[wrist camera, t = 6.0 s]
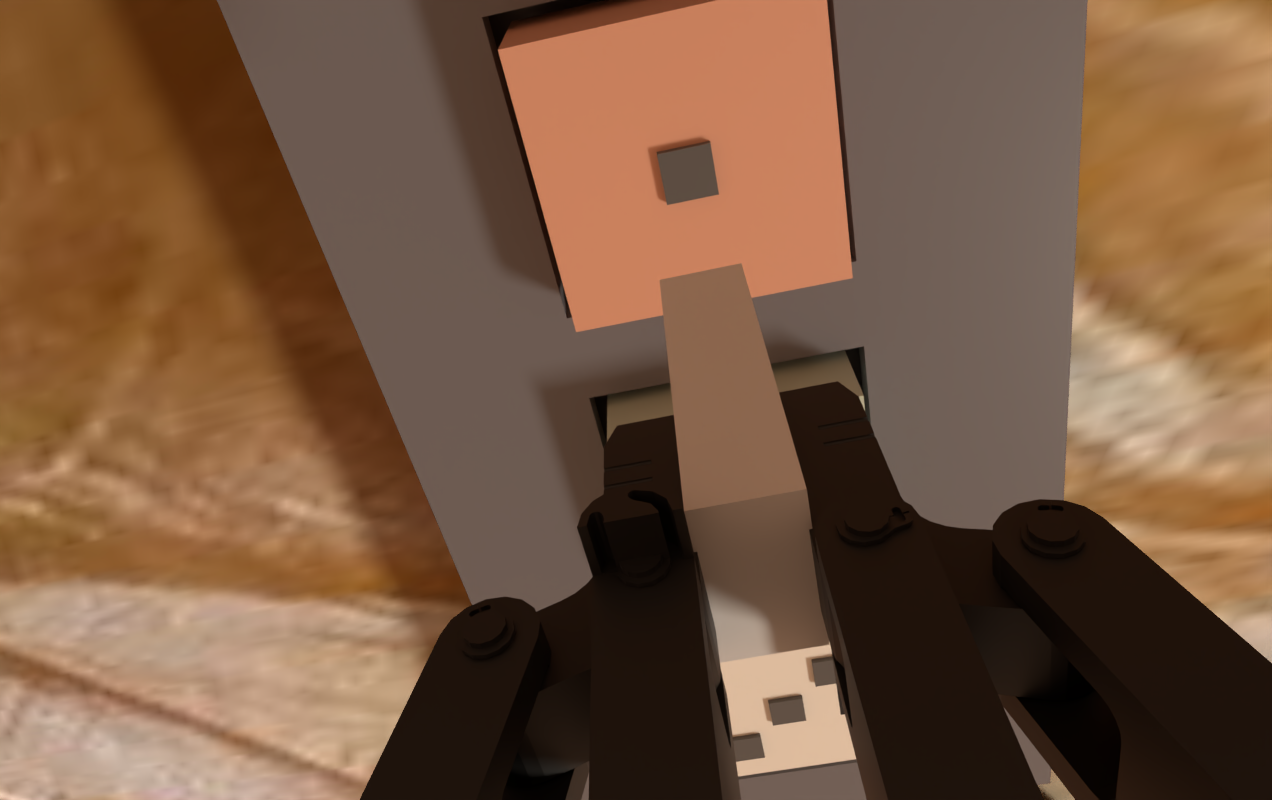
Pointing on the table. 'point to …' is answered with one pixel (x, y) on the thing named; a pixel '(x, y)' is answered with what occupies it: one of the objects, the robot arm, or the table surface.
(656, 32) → the button terracotta
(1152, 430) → the table surface
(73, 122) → the table surface
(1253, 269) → the table surface
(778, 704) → the button cream
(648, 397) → the button sage
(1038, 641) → the robot arm
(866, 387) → the button panel
